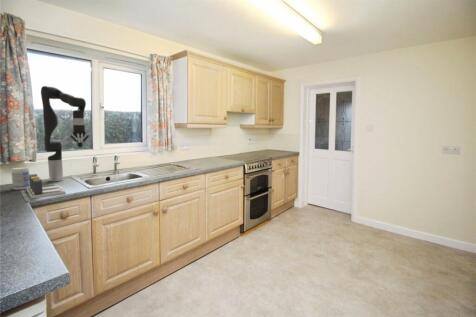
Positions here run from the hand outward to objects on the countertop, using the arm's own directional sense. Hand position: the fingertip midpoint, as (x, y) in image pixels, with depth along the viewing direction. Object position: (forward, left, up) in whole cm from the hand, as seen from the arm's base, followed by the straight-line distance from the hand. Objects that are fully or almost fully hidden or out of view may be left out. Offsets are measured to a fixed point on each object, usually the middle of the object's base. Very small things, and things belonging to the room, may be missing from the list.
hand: (80, 147), depth 194 cm
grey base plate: (+8, -24, -29) cm, 38 cm away
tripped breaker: (+8, -29, -27) cm, 40 cm away
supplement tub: (-14, -35, -29) cm, 48 cm away
